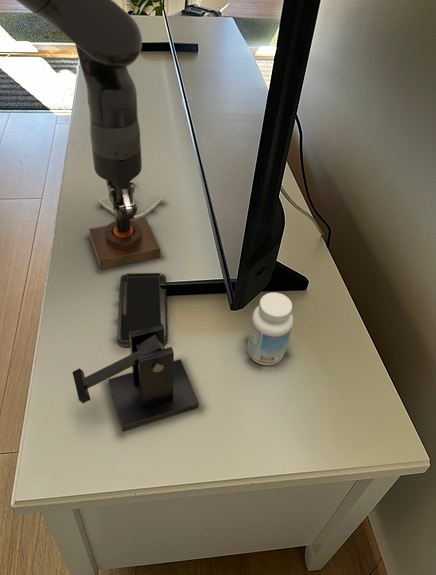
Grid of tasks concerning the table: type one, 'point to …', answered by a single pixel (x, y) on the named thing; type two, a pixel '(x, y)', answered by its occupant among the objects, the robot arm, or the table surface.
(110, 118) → the robot arm
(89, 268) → the table surface
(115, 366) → the lever
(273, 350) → the pill bottle
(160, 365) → the bracket
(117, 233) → the button
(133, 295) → the phone
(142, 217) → the crossbow
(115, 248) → the button block
